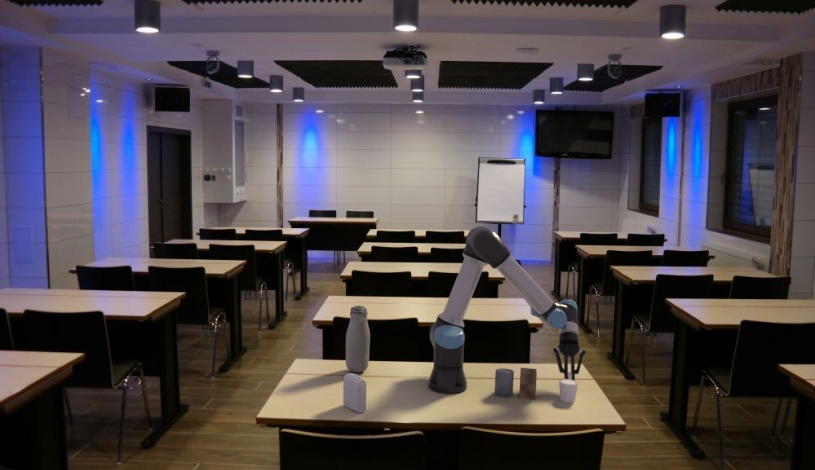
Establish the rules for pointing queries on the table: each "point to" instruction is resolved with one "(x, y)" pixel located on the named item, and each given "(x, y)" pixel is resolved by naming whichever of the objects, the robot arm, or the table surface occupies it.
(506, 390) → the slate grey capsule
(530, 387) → the walnut block
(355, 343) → the grey bottle
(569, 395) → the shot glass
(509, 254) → the robot arm
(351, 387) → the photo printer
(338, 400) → the table surface
